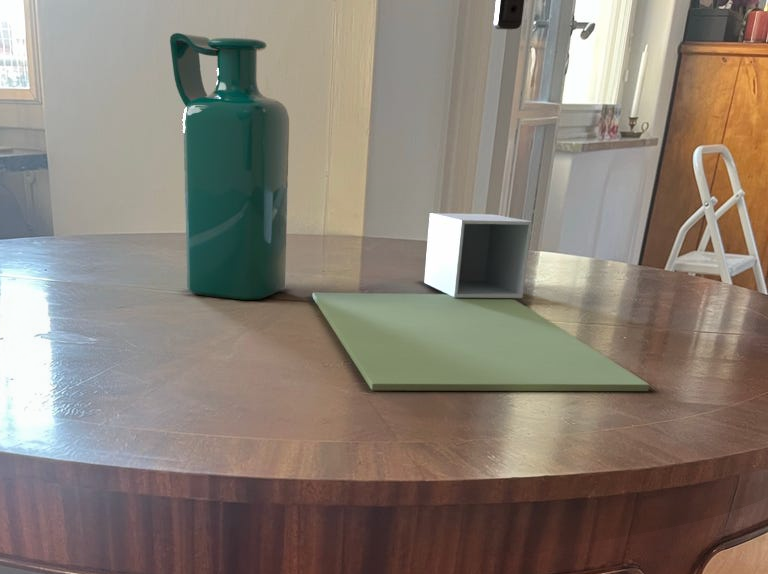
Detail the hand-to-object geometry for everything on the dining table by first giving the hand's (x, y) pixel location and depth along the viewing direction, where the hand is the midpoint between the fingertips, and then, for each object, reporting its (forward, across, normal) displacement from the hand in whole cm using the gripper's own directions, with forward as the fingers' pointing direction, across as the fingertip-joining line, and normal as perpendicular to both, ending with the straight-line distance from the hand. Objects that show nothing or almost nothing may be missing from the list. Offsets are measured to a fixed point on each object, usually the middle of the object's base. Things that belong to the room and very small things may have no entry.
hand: (506, 28), depth 88 cm
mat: (+23, -20, +8) cm, 32 cm away
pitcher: (+23, 0, +26) cm, 35 cm away
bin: (+20, +6, +1) cm, 21 cm away
